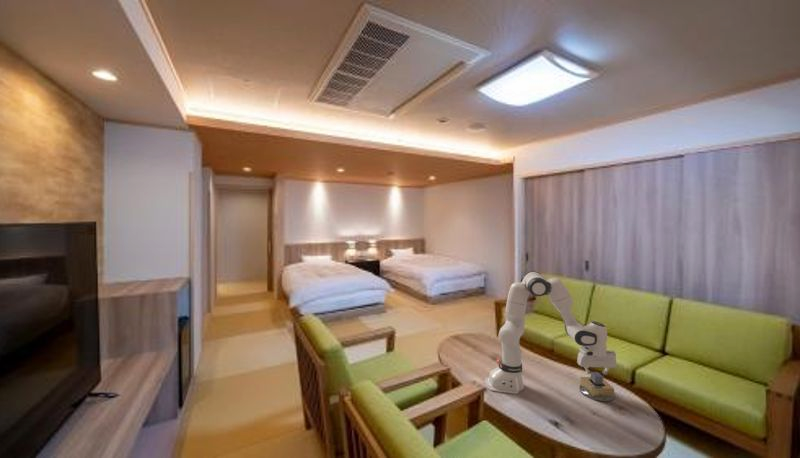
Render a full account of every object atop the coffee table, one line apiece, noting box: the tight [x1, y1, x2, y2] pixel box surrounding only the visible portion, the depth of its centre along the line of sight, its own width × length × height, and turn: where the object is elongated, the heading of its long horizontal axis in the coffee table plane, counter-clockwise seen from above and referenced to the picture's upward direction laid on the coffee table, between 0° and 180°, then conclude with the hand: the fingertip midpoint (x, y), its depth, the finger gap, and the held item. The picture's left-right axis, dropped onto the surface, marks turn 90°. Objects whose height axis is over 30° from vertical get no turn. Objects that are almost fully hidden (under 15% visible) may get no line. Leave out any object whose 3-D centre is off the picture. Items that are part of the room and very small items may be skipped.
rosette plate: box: [579, 376, 616, 403], centre depth 179 cm, size 17×17×6 cm
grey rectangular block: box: [590, 371, 604, 386], centre depth 179 cm, size 4×5×10 cm
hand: (596, 373), depth 179 cm, fingers open, 8 cm apart
